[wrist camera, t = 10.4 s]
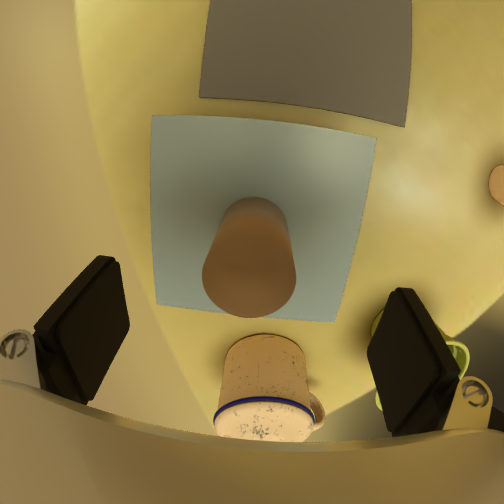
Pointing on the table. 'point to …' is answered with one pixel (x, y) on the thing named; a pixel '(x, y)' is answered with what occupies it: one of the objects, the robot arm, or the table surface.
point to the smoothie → (497, 184)
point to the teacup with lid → (266, 392)
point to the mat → (311, 54)
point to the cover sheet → (263, 170)
